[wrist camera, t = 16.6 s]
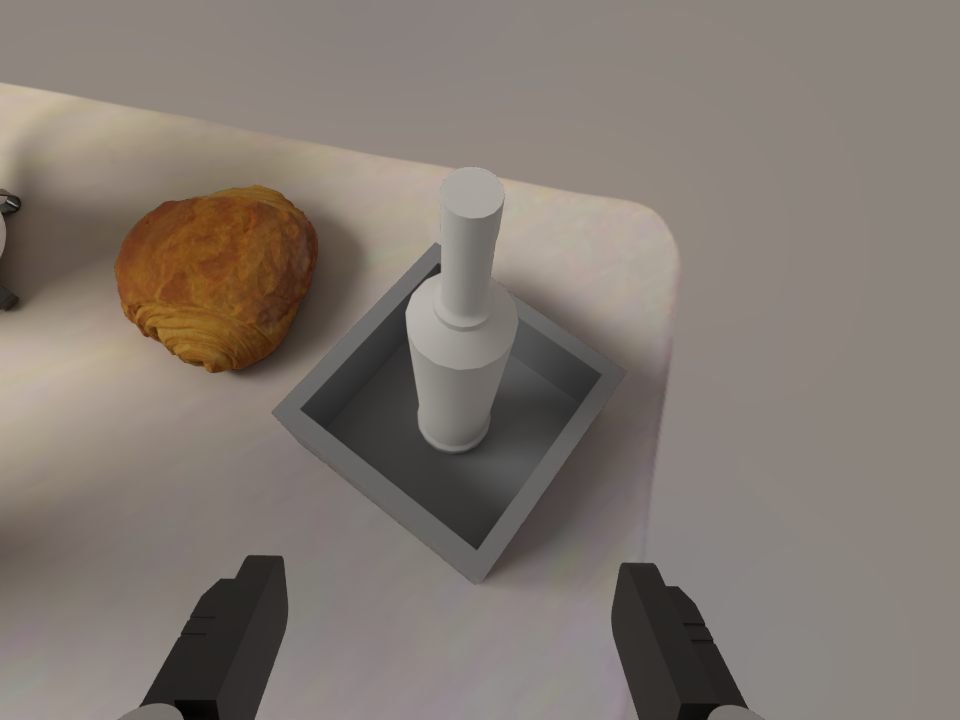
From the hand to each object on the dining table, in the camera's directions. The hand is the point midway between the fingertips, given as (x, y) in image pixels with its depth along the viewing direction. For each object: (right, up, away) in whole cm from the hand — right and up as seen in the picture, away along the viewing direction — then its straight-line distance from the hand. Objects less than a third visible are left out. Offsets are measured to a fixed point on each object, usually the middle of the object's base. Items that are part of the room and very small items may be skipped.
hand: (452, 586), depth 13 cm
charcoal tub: (-1, +1, +28) cm, 28 cm away
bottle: (-1, +1, +27) cm, 27 cm away
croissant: (-20, +11, +32) cm, 39 cm away
